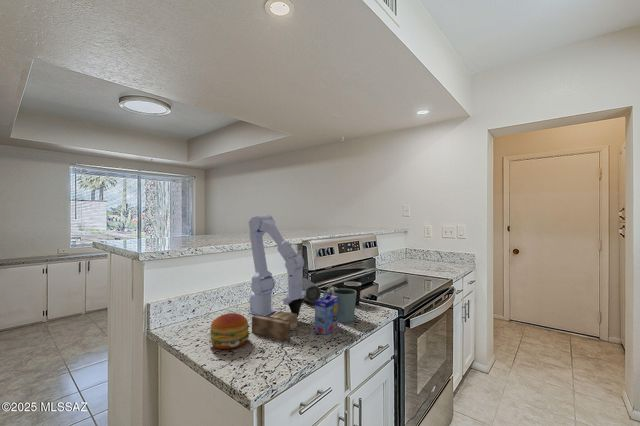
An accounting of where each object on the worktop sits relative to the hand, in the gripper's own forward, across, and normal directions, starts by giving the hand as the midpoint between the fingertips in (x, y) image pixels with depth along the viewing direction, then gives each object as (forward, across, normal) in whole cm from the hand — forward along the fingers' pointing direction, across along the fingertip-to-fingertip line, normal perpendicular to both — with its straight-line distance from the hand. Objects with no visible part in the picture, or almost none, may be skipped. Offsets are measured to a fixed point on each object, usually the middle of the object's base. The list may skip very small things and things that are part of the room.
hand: (295, 317), depth 124 cm
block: (+1, -8, 0) cm, 9 cm away
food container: (+2, +18, -9) cm, 20 cm away
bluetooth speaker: (+2, +29, +12) cm, 31 cm away
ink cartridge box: (+2, -2, -16) cm, 16 cm away
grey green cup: (+2, +10, -18) cm, 21 cm away
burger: (+2, -28, +9) cm, 30 cm away
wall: (+1, -17, 0) cm, 17 cm away
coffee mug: (+2, +32, -12) cm, 34 cm away
